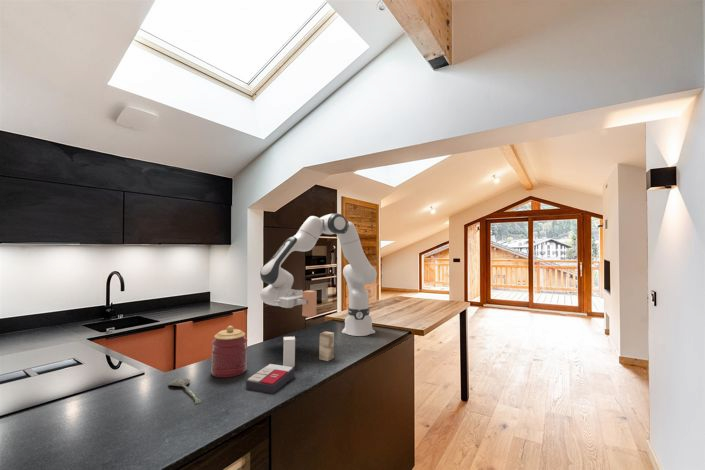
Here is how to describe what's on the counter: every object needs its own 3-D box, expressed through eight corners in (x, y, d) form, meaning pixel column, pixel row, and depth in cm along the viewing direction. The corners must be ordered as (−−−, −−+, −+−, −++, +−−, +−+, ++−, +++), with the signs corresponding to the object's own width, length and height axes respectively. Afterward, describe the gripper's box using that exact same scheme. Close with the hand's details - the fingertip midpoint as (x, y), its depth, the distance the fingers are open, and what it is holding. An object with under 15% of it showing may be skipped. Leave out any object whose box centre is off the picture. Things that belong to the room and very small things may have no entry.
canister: (235, 380, 120) (236, 331, 121) (203, 376, 123) (204, 328, 124) (252, 367, 133) (253, 323, 134) (223, 364, 136) (224, 321, 136)
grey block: (283, 363, 137) (283, 336, 138) (294, 362, 138) (294, 336, 139) (283, 367, 133) (283, 340, 133) (294, 366, 134) (295, 339, 134)
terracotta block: (308, 314, 153) (309, 290, 153) (316, 315, 151) (316, 291, 151) (302, 315, 149) (302, 291, 150) (309, 317, 147) (310, 292, 147)
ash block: (325, 356, 147) (325, 331, 148) (333, 358, 145) (334, 332, 145) (319, 359, 144) (319, 333, 144) (327, 361, 141) (327, 335, 141)
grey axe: (186, 382, 121) (166, 388, 116) (186, 373, 121) (165, 378, 116) (208, 401, 105) (186, 409, 100) (208, 390, 105) (185, 397, 100)
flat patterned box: (245, 379, 113) (269, 362, 128) (245, 391, 114) (269, 373, 128) (273, 383, 110) (294, 365, 124) (273, 396, 110) (294, 377, 124)
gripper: (272, 294, 148) (295, 297, 141) (302, 289, 166) (324, 291, 158) (272, 308, 148) (295, 312, 141) (302, 302, 166) (324, 305, 158)
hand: (311, 301), depth 150 cm, fingers closed on terracotta block, 4 cm apart
